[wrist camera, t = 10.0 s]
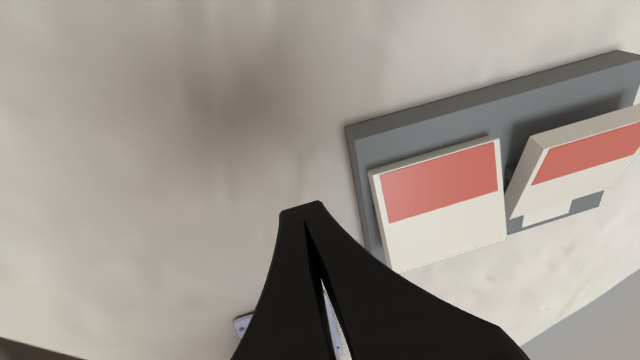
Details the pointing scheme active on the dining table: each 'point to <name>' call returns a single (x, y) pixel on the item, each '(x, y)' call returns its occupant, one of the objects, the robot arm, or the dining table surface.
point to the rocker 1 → (440, 203)
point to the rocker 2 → (573, 161)
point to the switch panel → (494, 128)
